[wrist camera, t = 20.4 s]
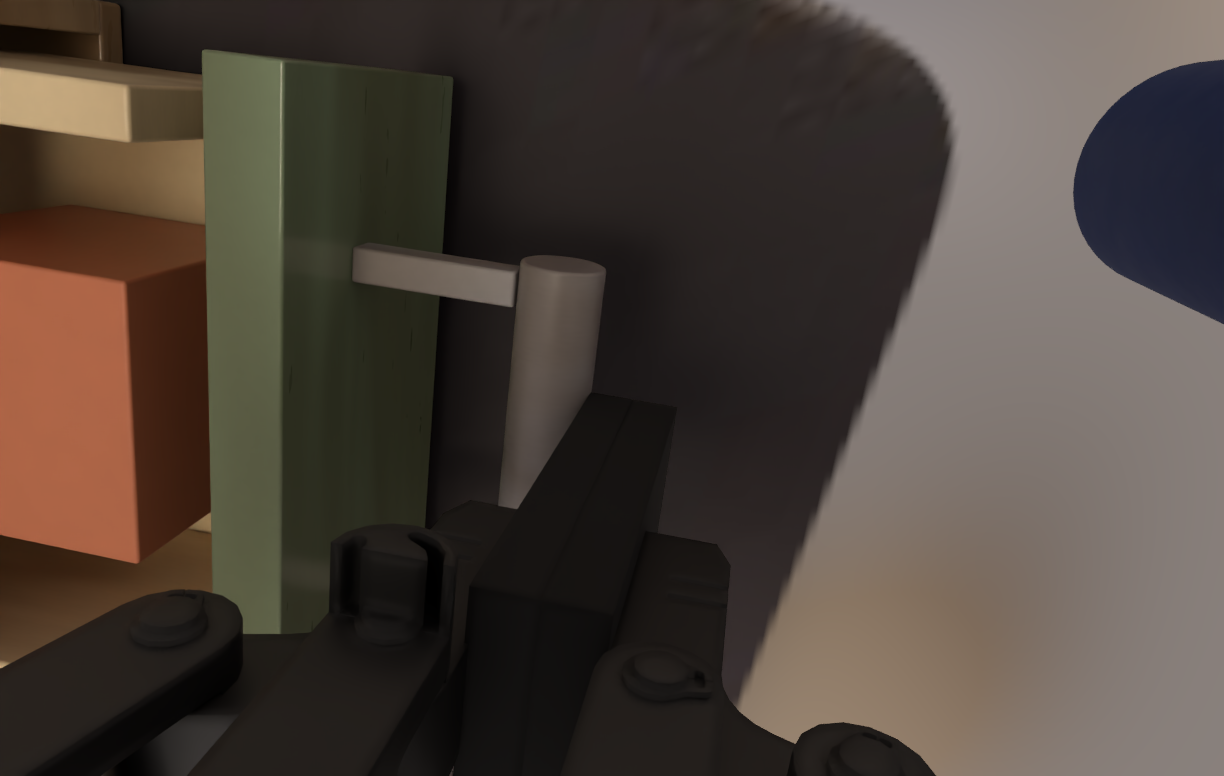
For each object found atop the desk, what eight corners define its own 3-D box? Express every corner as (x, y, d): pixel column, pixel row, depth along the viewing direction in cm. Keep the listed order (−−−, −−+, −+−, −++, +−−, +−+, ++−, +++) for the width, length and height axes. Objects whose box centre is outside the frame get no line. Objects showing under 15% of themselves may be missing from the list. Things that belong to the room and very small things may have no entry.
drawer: (659, 103, 18) (596, 100, 11) (588, 636, 21) (511, 855, 15) (-89, 5, 20) (-496, -44, 13) (-31, 508, 23) (-327, 654, 17)
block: (288, 238, 19) (124, 281, 14) (286, 459, 20) (138, 565, 15) (70, 203, 19) (-158, 233, 15) (85, 421, 21) (-117, 511, 16)
